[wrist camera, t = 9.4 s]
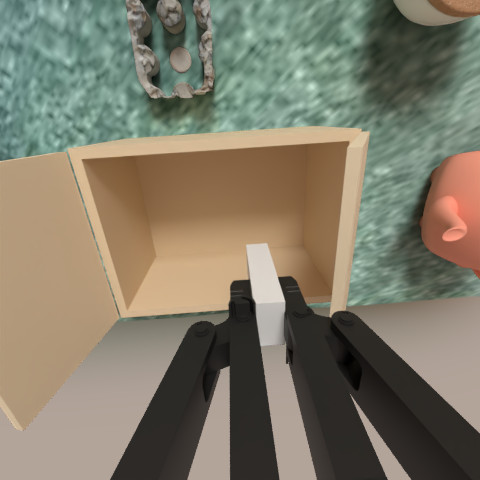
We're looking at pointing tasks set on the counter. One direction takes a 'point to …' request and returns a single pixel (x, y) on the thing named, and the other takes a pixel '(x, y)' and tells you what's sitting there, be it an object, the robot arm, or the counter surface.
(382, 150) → the counter surface
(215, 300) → the carton
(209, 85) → the egg carton
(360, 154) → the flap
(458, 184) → the teapot
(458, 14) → the lidded jar
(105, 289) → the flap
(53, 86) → the counter surface
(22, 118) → the counter surface
